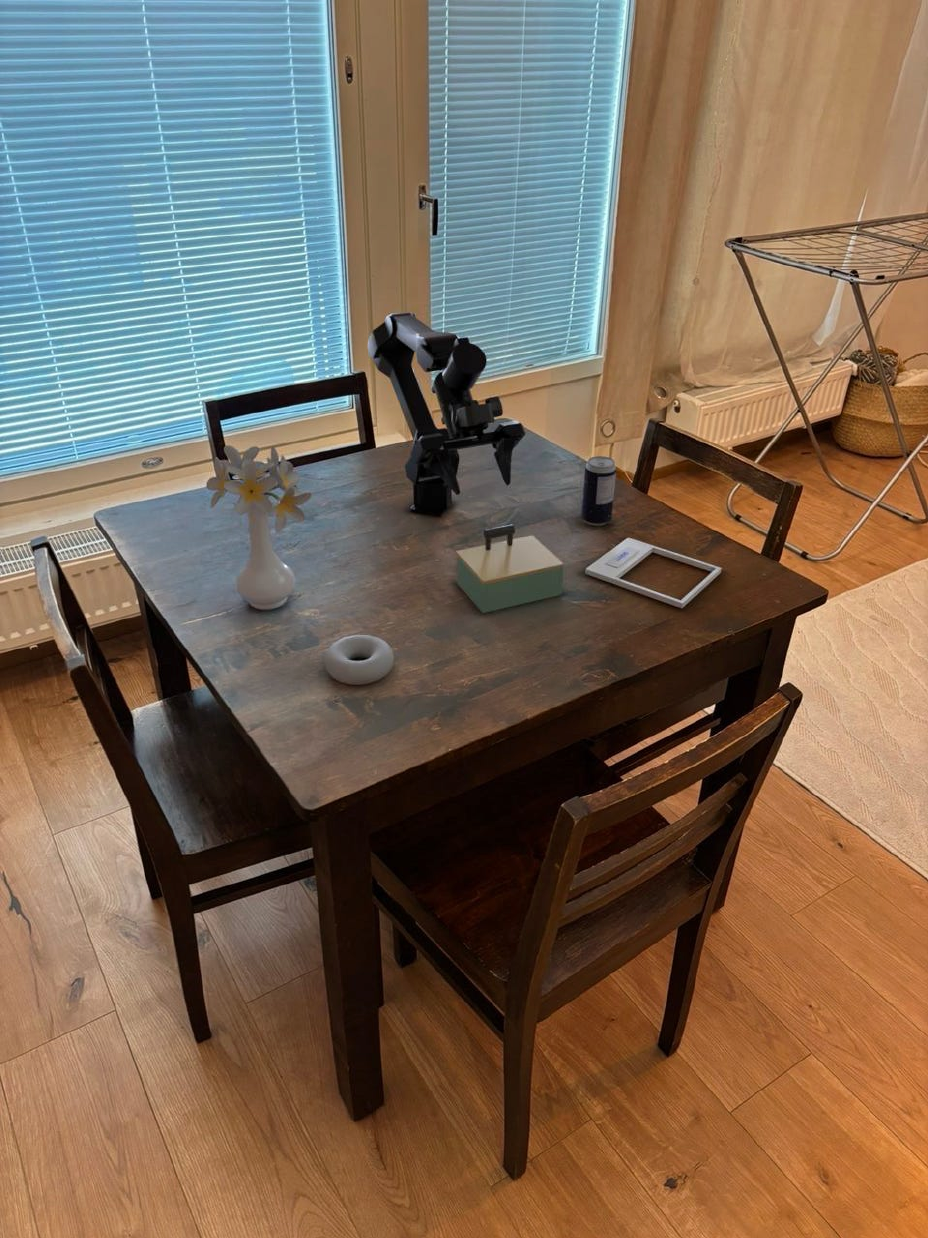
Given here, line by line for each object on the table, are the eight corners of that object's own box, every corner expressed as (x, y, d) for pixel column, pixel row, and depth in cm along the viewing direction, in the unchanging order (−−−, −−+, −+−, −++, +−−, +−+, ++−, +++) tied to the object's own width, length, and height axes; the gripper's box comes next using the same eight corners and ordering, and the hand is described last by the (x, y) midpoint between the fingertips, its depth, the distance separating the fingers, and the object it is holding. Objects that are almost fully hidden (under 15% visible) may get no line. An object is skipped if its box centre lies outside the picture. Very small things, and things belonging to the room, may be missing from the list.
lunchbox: (457, 583, 153) (457, 556, 150) (532, 566, 158) (534, 539, 155) (482, 613, 145) (483, 585, 143) (561, 594, 150) (563, 567, 147)
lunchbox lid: (455, 554, 151) (455, 531, 149) (532, 538, 156) (533, 515, 153) (483, 584, 143) (483, 561, 140) (563, 566, 147) (565, 543, 145)
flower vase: (286, 637, 139) (268, 485, 126) (203, 600, 148) (178, 454, 135) (343, 600, 148) (332, 455, 135) (261, 568, 157) (243, 428, 144)
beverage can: (610, 514, 175) (616, 455, 169) (611, 528, 170) (617, 468, 164) (580, 513, 176) (585, 454, 169) (580, 526, 171) (585, 466, 164)
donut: (393, 648, 137) (326, 650, 136) (393, 629, 135) (324, 630, 135) (395, 689, 129) (323, 691, 128) (394, 669, 127) (321, 670, 126)
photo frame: (628, 536, 165) (721, 566, 156) (627, 541, 166) (720, 572, 156) (585, 567, 155) (682, 602, 146) (585, 573, 156) (681, 608, 147)
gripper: (417, 388, 145) (445, 479, 142) (522, 373, 151) (551, 460, 149) (400, 420, 155) (427, 505, 152) (500, 405, 161) (527, 486, 159)
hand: (483, 489), depth 153 cm, fingers open, 9 cm apart
